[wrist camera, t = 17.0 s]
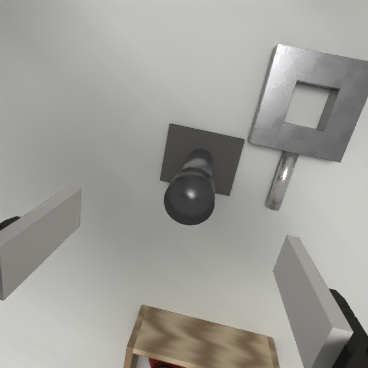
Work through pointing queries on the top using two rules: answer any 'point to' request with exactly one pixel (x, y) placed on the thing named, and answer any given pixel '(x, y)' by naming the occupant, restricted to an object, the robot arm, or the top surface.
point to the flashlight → (192, 190)
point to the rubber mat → (212, 142)
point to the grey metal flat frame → (331, 117)
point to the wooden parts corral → (196, 343)
